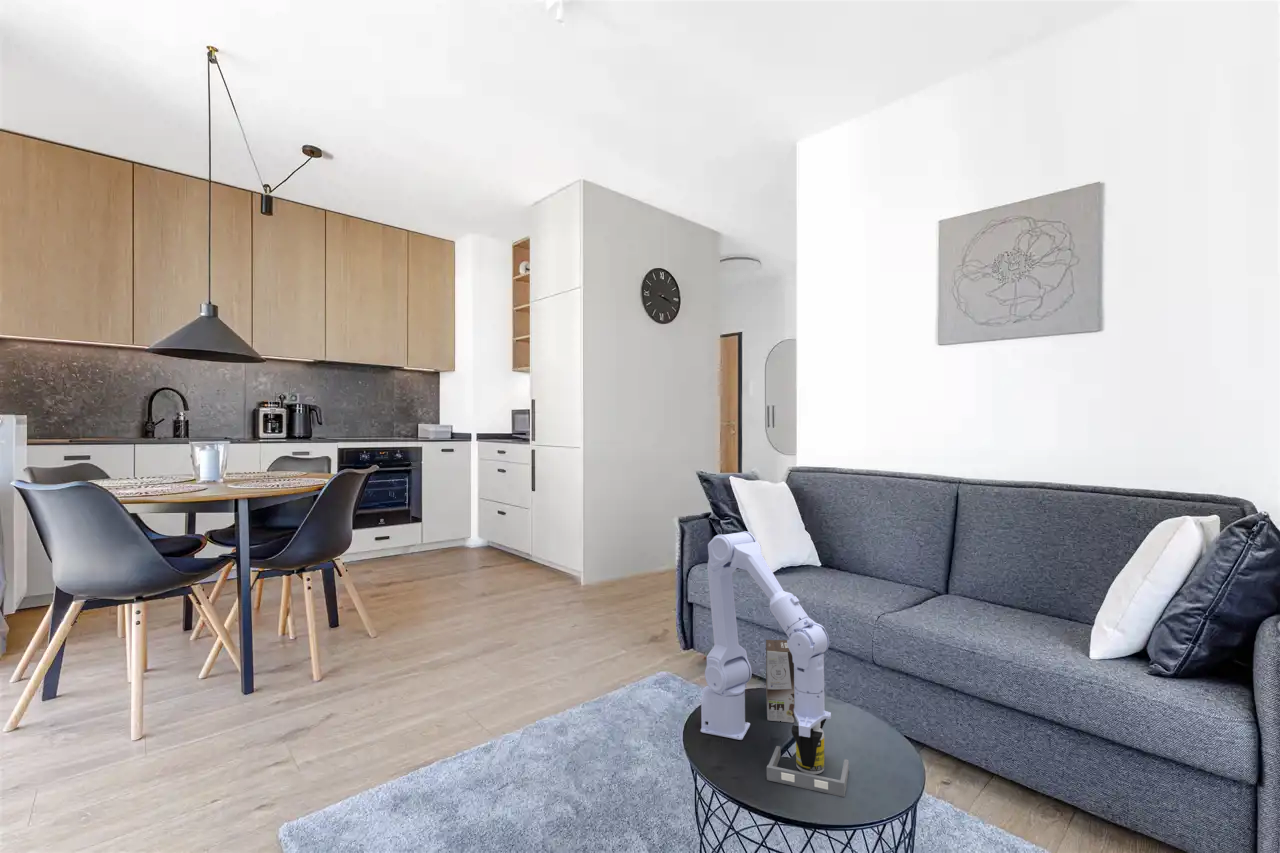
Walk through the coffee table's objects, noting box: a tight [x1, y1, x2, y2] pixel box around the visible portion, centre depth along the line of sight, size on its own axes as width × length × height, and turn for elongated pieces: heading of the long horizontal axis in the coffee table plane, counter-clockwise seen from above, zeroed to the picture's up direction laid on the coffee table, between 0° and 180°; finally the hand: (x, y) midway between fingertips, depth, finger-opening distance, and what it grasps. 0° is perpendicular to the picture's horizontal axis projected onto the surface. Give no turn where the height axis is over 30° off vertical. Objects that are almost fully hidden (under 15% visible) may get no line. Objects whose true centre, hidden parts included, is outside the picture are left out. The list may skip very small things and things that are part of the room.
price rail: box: [766, 745, 850, 798], centre depth 114 cm, size 14×10×2 cm
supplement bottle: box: [795, 722, 825, 775], centre depth 117 cm, size 5×5×10 cm
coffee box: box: [765, 639, 795, 724], centre depth 141 cm, size 9×6×16 cm
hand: (810, 758), depth 116 cm, fingers open, 5 cm apart
